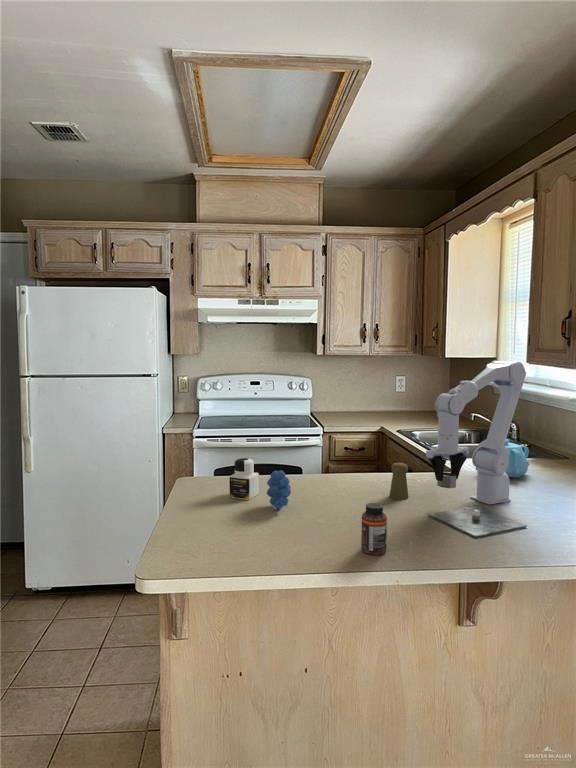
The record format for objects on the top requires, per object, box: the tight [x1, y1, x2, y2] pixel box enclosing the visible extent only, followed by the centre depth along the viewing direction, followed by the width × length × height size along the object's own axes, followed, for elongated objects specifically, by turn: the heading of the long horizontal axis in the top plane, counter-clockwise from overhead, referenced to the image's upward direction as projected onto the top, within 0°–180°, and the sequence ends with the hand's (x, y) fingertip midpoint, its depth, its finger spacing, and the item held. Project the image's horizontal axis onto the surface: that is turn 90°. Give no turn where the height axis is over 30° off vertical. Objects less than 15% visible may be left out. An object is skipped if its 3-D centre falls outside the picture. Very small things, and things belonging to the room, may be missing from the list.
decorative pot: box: [492, 438, 530, 479], centre depth 190 cm, size 16×16×14 cm
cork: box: [388, 462, 410, 501], centre depth 163 cm, size 6×6×11 cm
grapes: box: [266, 470, 292, 510], centre depth 152 cm, size 12×7×12 cm, turn 31°
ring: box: [436, 471, 457, 489], centre depth 152 cm, size 5×5×4 cm
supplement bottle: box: [360, 502, 388, 556], centre depth 121 cm, size 6×6×11 cm
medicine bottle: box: [229, 457, 260, 501], centre depth 164 cm, size 7×7×12 cm
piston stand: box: [428, 505, 527, 539], centre depth 141 cm, size 18×18×3 cm
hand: (446, 479), depth 152 cm, fingers closed on ring, 5 cm apart
